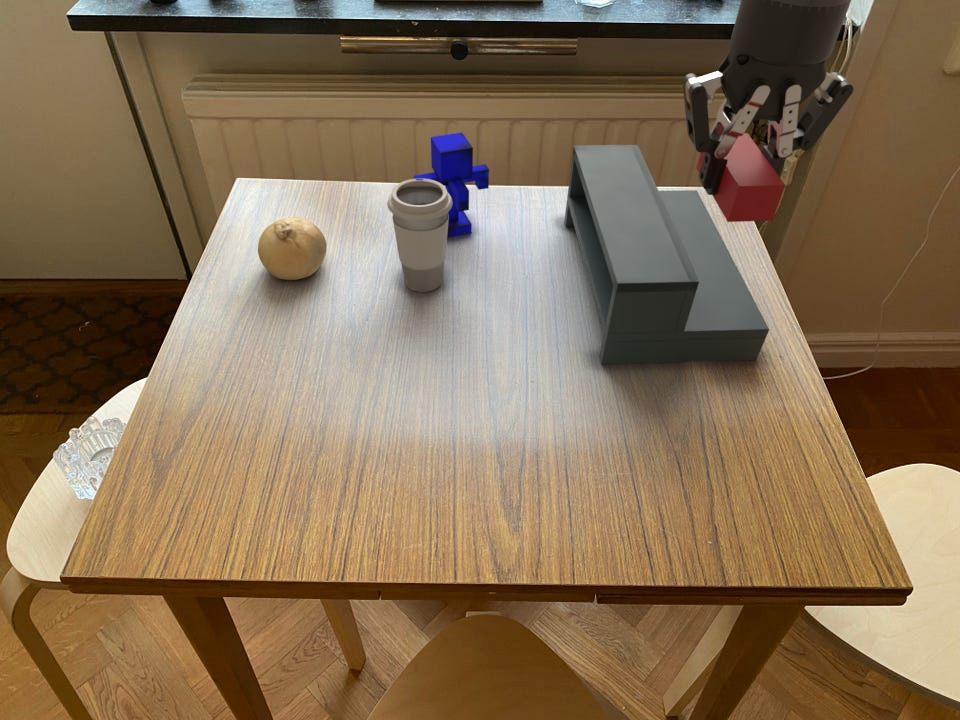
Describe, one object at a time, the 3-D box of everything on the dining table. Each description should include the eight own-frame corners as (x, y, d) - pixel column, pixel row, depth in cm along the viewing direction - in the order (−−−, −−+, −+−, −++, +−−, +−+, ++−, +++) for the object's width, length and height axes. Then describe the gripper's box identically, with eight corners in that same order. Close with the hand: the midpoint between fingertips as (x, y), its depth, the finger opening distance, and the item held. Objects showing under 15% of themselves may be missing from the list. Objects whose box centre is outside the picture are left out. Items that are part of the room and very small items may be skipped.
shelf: (756, 360, 76) (790, 279, 68) (601, 364, 75) (617, 283, 67) (689, 219, 95) (709, 143, 88) (564, 221, 94) (573, 145, 87)
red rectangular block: (772, 220, 61) (785, 185, 59) (727, 222, 61) (739, 186, 58) (737, 167, 67) (747, 132, 65) (696, 168, 67) (705, 133, 65)
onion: (254, 260, 87) (241, 210, 82) (315, 242, 90) (306, 193, 85) (276, 297, 82) (264, 246, 77) (340, 276, 85) (332, 226, 80)
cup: (452, 262, 87) (451, 175, 79) (454, 297, 83) (453, 208, 74) (394, 263, 87) (387, 176, 78) (392, 298, 82) (385, 209, 74)
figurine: (412, 234, 91) (408, 148, 83) (440, 205, 96) (438, 122, 88) (465, 250, 89) (465, 163, 81) (490, 220, 94) (493, 135, 86)
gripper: (722, 3, 48) (668, 215, 61) (918, 2, 50) (827, 211, 62) (690, -32, 54) (646, 170, 66) (868, -33, 55) (793, 166, 67)
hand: (734, 188), depth 64 cm, fingers closed on red rectangular block, 4 cm apart
